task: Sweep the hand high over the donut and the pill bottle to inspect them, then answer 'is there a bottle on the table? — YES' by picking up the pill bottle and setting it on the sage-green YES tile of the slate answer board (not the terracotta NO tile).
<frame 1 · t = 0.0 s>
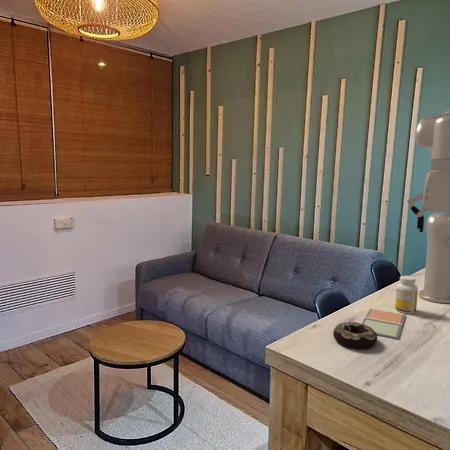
hand: (441, 233, 102), 31 cm above the table, fingers open, 9 cm apart
pill bottle: (405, 311, 132), on the table
donut: (354, 342, 110), on the table
answer board: (382, 323, 122), on the table
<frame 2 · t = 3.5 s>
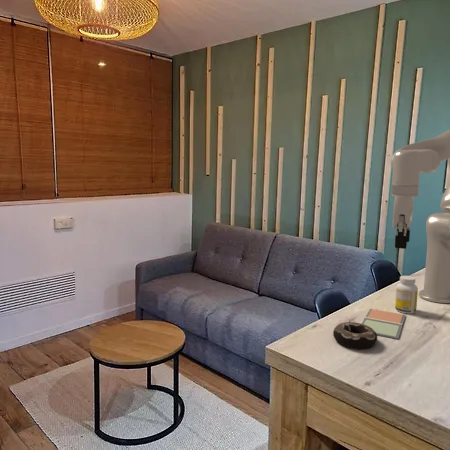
hand: (402, 244, 125), 24 cm above the table, fingers open, 9 cm apart
nothing on the table moved.
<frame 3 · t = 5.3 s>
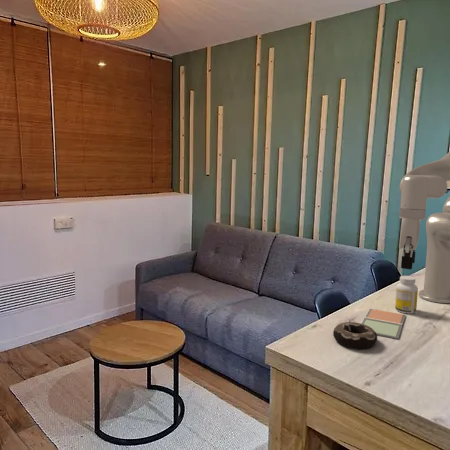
hand: (407, 265, 129), 16 cm above the table, fingers open, 9 cm apart
nothing on the table moved.
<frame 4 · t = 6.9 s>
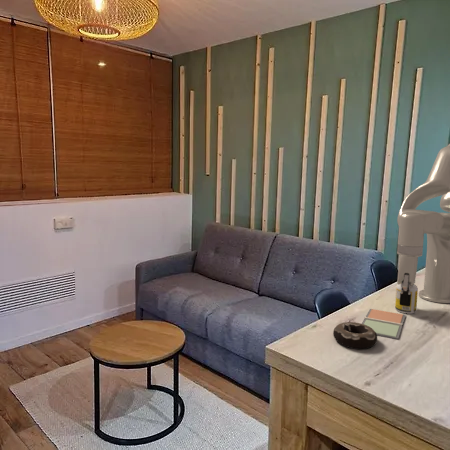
hand: (406, 301, 132), 3 cm above the table, fingers closed on pill bottle, 6 cm apart
pill bottle: (405, 311, 132), on the table, touching gripper
everything else where it was.
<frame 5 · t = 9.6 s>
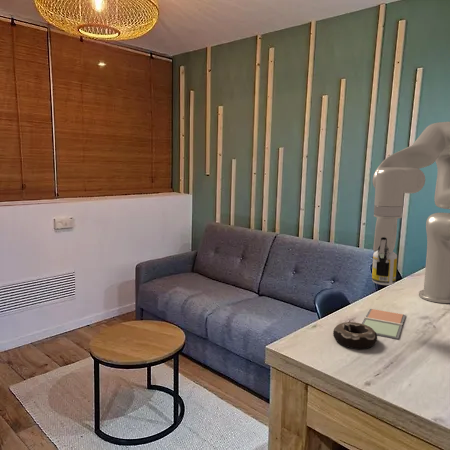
hand: (384, 272, 115), 18 cm above the table, fingers closed on pill bottle, 6 cm apart
pill bottle: (383, 283, 115), point 14 cm above the table, touching gripper
everything else where it was.
when the fingers open (5 cm above the table, at t = 12.4 s): pill bottle drops 1 cm, resting on answer board.
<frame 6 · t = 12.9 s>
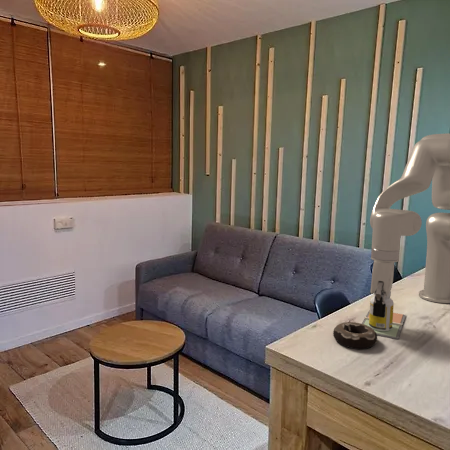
hand: (381, 310, 116), 6 cm above the table, fingers open, 9 cm apart
pill bottle: (380, 328, 117), resting on answer board
everything else where it was.
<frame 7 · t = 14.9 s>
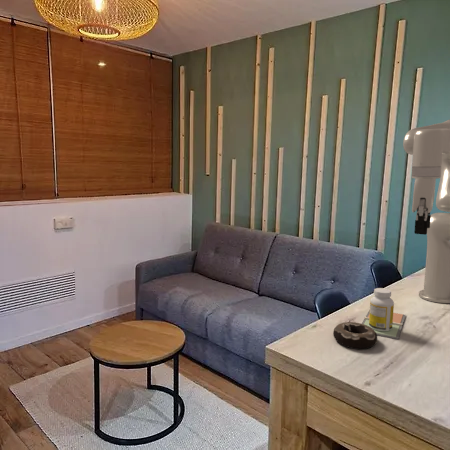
hand: (422, 230, 117), 29 cm above the table, fingers open, 9 cm apart
nothing on the table moved.
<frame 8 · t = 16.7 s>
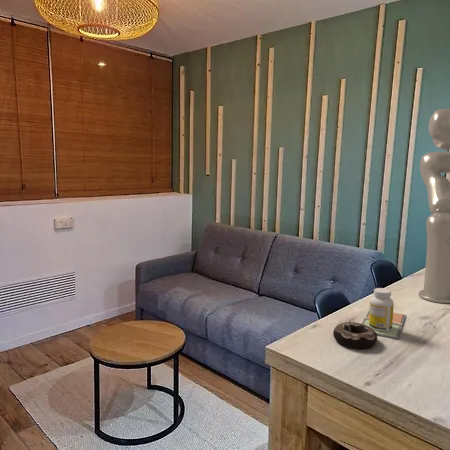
nothing on the table moved.
at the end: pill bottle inside the target area on the answer board (0.2 cm from its centre), point 0.4 cm above the answer board's base; pill bottle tilted 0°; the gripper is holding nothing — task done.
